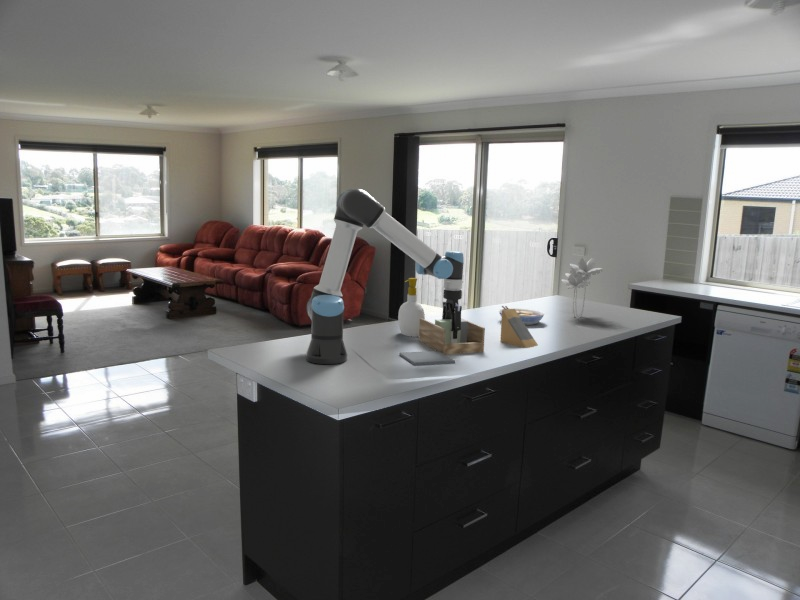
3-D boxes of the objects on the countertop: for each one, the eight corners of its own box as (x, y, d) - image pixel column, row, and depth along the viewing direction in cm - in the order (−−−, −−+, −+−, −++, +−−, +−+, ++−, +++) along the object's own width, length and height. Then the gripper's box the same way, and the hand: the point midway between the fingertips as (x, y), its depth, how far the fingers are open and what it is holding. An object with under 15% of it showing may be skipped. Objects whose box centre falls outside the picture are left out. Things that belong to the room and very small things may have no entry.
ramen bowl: (548, 331, 288) (550, 315, 287) (501, 330, 289) (502, 313, 287) (538, 322, 313) (539, 307, 312) (494, 321, 313) (495, 305, 312)
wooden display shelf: (442, 354, 233) (443, 329, 232) (418, 341, 256) (419, 318, 255) (483, 352, 239) (484, 327, 238) (456, 339, 262) (457, 317, 261)
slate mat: (414, 365, 215) (414, 362, 215) (399, 355, 230) (399, 352, 229) (454, 362, 220) (454, 360, 220) (437, 353, 235) (437, 350, 235)
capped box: (439, 348, 243) (440, 322, 241) (433, 345, 248) (435, 319, 247) (466, 347, 247) (467, 321, 245) (460, 344, 253) (461, 318, 251)
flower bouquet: (547, 313, 323) (554, 303, 303) (566, 258, 330) (575, 245, 310) (578, 324, 321) (588, 315, 300) (597, 268, 328) (608, 256, 308)
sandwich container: (528, 350, 246) (530, 315, 244) (499, 343, 257) (501, 309, 255) (541, 348, 251) (543, 313, 249) (512, 341, 263) (514, 308, 261)
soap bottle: (391, 334, 268) (393, 277, 264) (405, 332, 274) (407, 276, 270) (414, 340, 258) (416, 280, 254) (428, 337, 264) (431, 279, 260)
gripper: (471, 292, 237) (468, 349, 240) (451, 286, 254) (448, 339, 258) (454, 292, 234) (451, 350, 237) (435, 286, 252) (432, 340, 255)
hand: (450, 344), depth 248 cm, fingers closed on capped box, 6 cm apart
